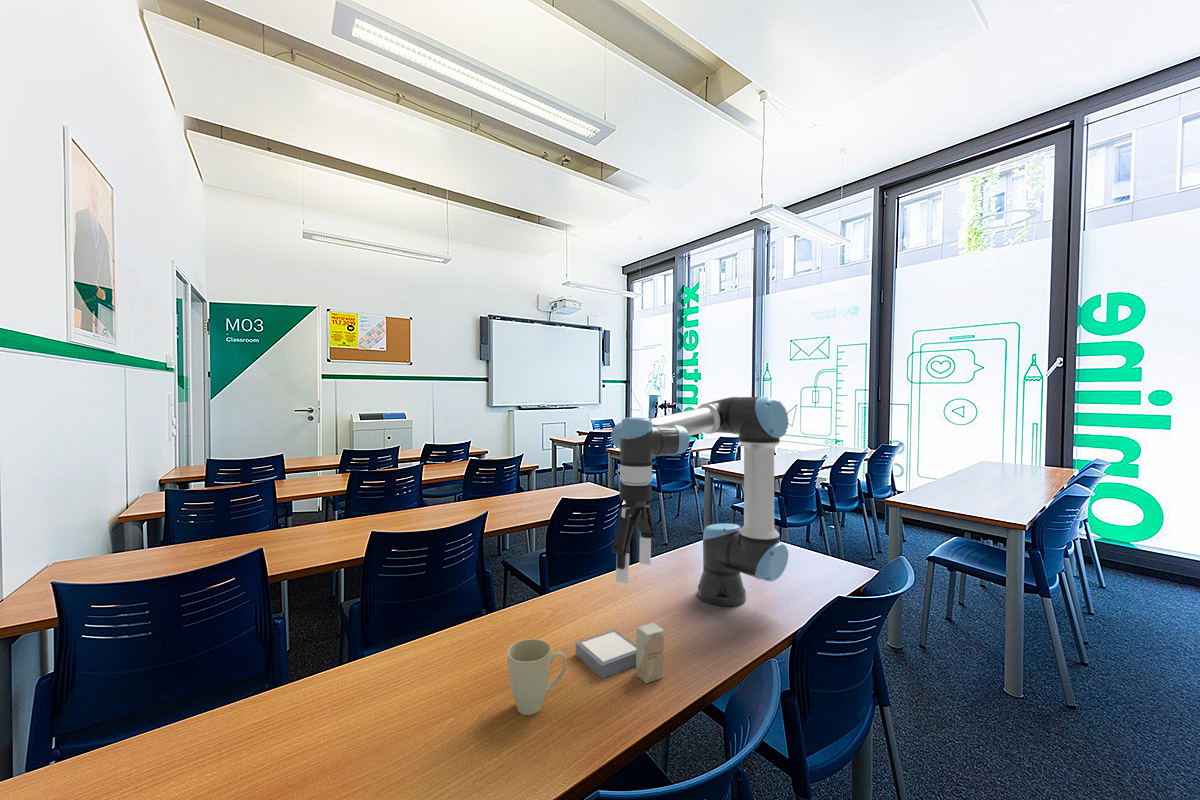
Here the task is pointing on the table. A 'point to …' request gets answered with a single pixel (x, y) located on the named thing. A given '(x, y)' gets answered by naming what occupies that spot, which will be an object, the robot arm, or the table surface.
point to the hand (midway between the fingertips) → (634, 572)
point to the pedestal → (607, 653)
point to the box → (649, 652)
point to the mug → (531, 673)
